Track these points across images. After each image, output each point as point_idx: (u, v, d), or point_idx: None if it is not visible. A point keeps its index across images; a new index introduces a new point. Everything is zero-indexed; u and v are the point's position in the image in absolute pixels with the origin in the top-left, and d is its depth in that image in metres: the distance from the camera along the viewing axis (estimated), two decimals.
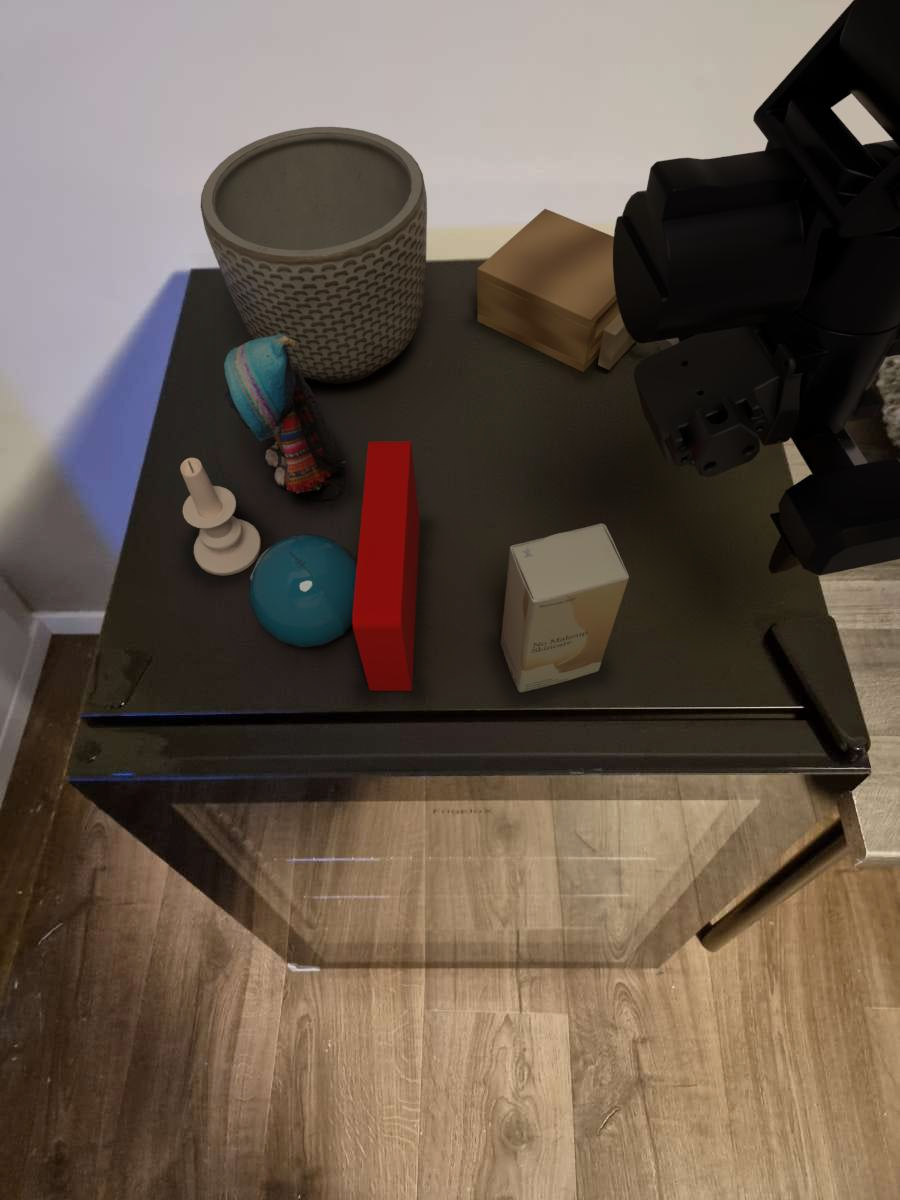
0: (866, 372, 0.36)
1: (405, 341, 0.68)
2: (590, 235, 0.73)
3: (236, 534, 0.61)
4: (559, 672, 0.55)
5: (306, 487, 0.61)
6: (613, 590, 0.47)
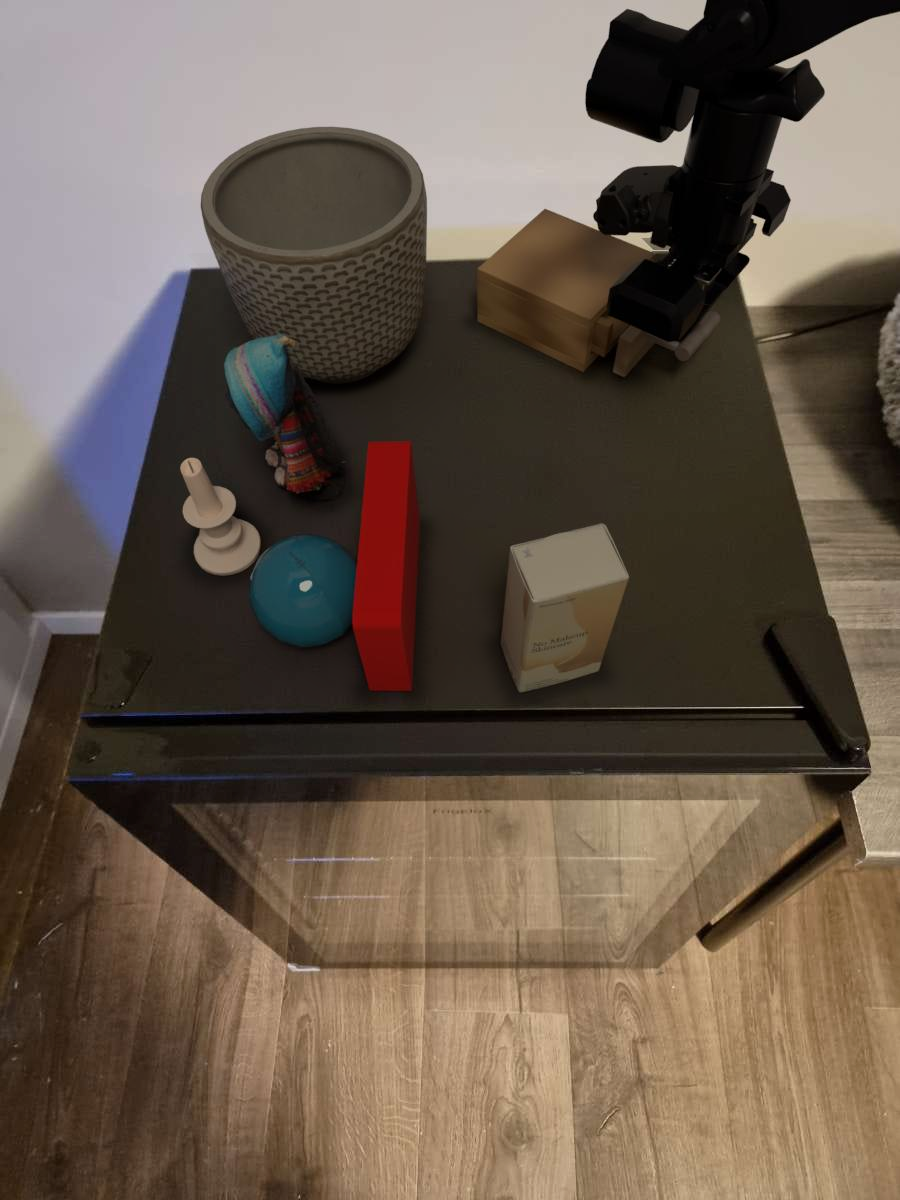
0: (706, 213, 0.57)
1: (405, 341, 0.68)
2: (590, 235, 0.73)
3: (236, 534, 0.61)
4: (559, 672, 0.55)
5: (306, 487, 0.61)
6: (613, 590, 0.47)
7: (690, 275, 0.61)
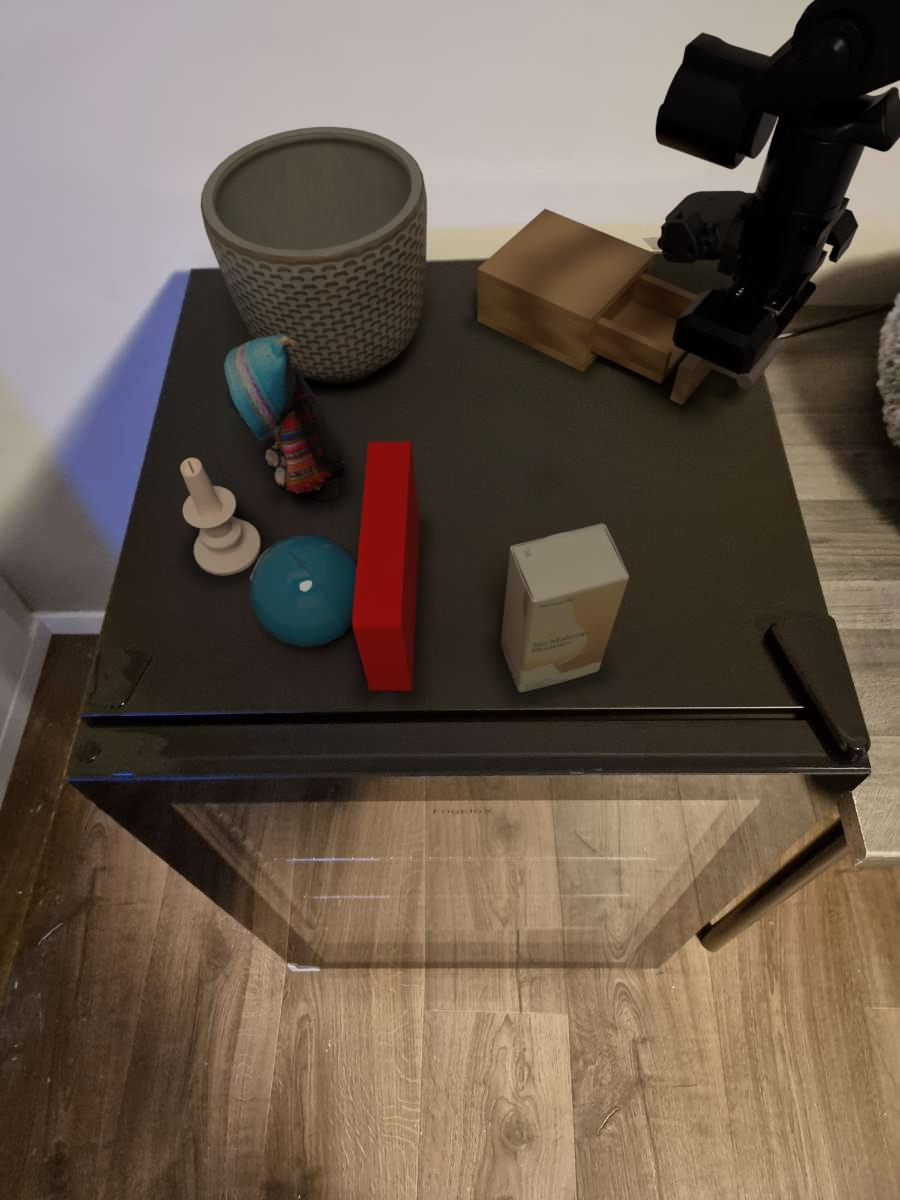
0: (780, 242, 0.55)
1: (405, 341, 0.68)
2: (590, 235, 0.73)
3: (236, 534, 0.61)
4: (559, 672, 0.55)
5: (306, 487, 0.61)
6: (613, 590, 0.47)
7: (758, 304, 0.60)
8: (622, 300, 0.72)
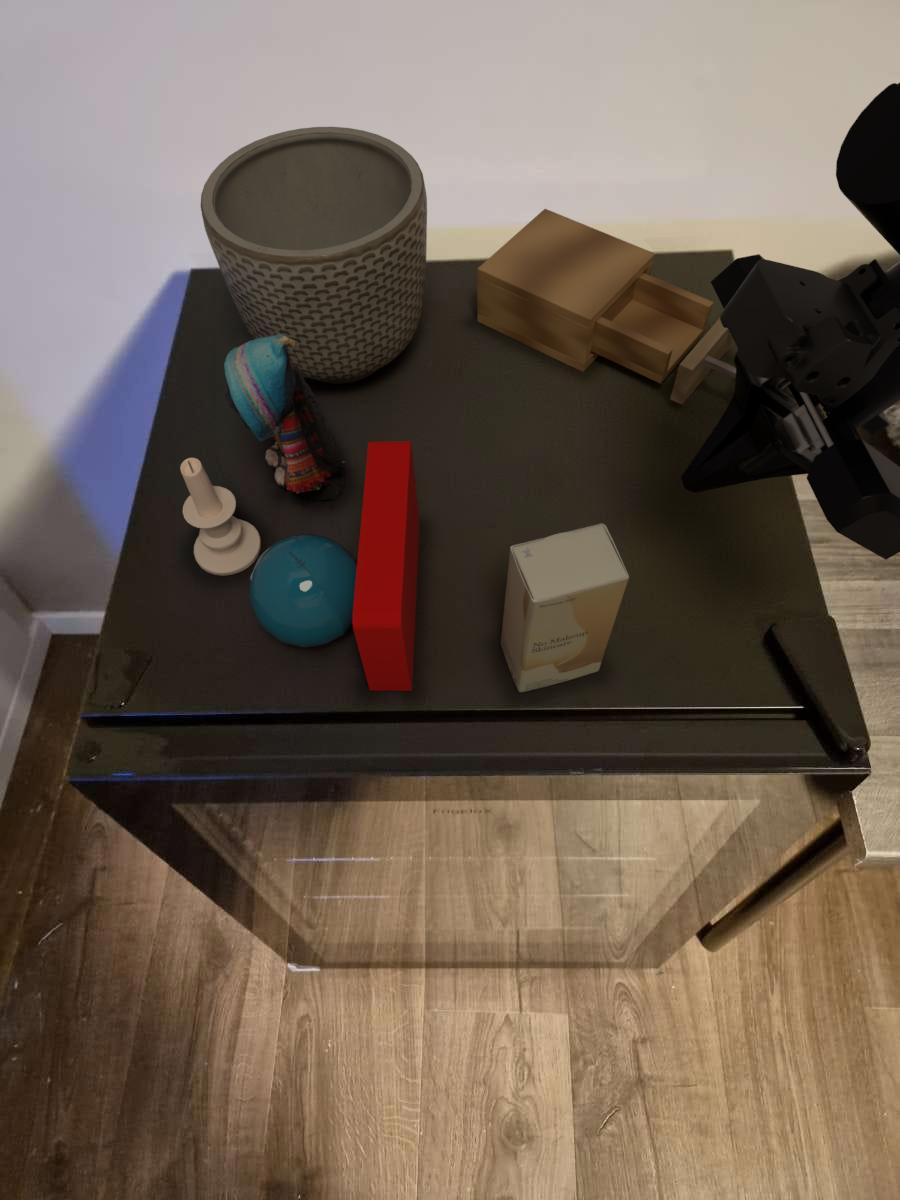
0: None
1: (405, 341, 0.68)
2: (590, 235, 0.73)
3: (236, 534, 0.61)
4: (559, 672, 0.55)
5: (306, 487, 0.61)
6: (613, 590, 0.47)
7: None
8: (622, 300, 0.72)
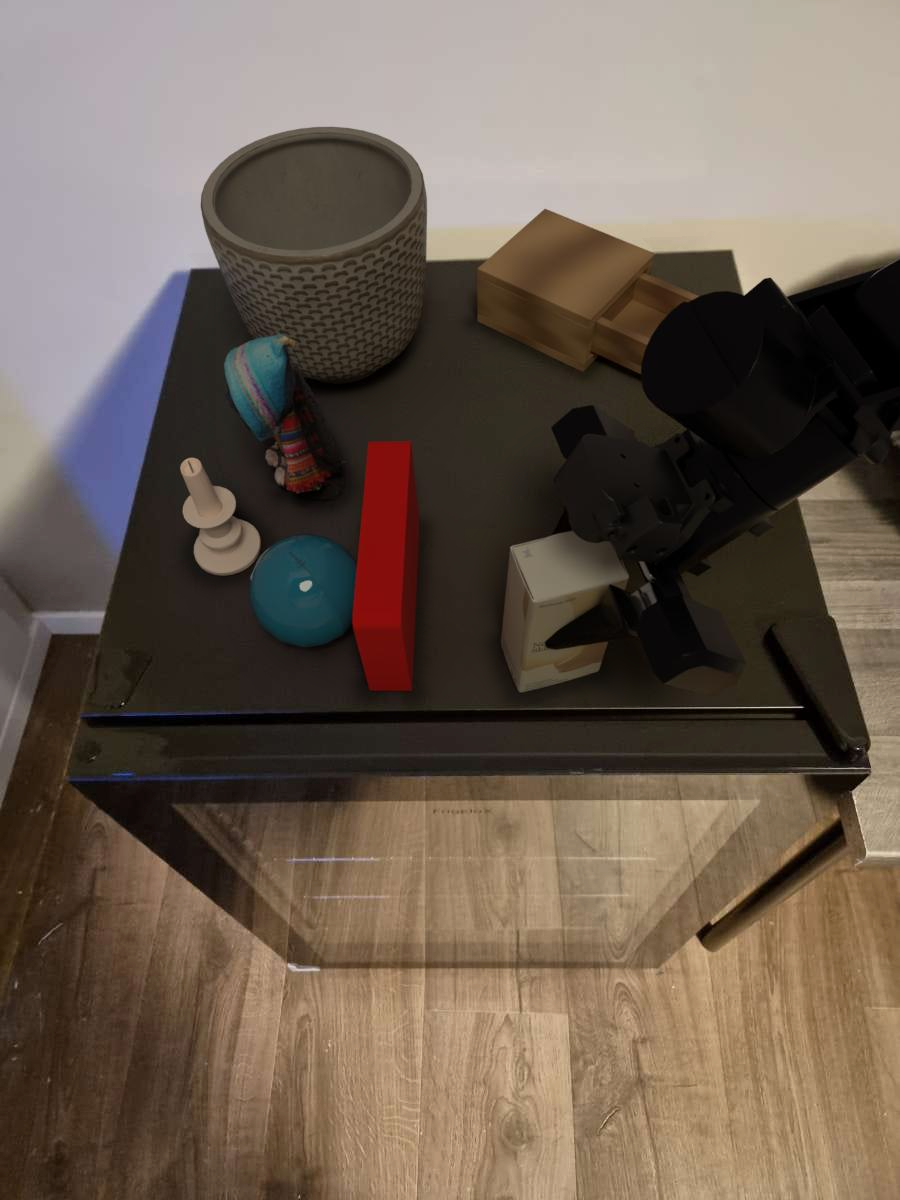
0: (737, 535, 0.44)
1: (405, 341, 0.68)
2: (590, 235, 0.73)
3: (236, 534, 0.61)
4: (559, 673, 0.55)
5: (306, 487, 0.61)
6: None
7: None
8: (622, 300, 0.72)
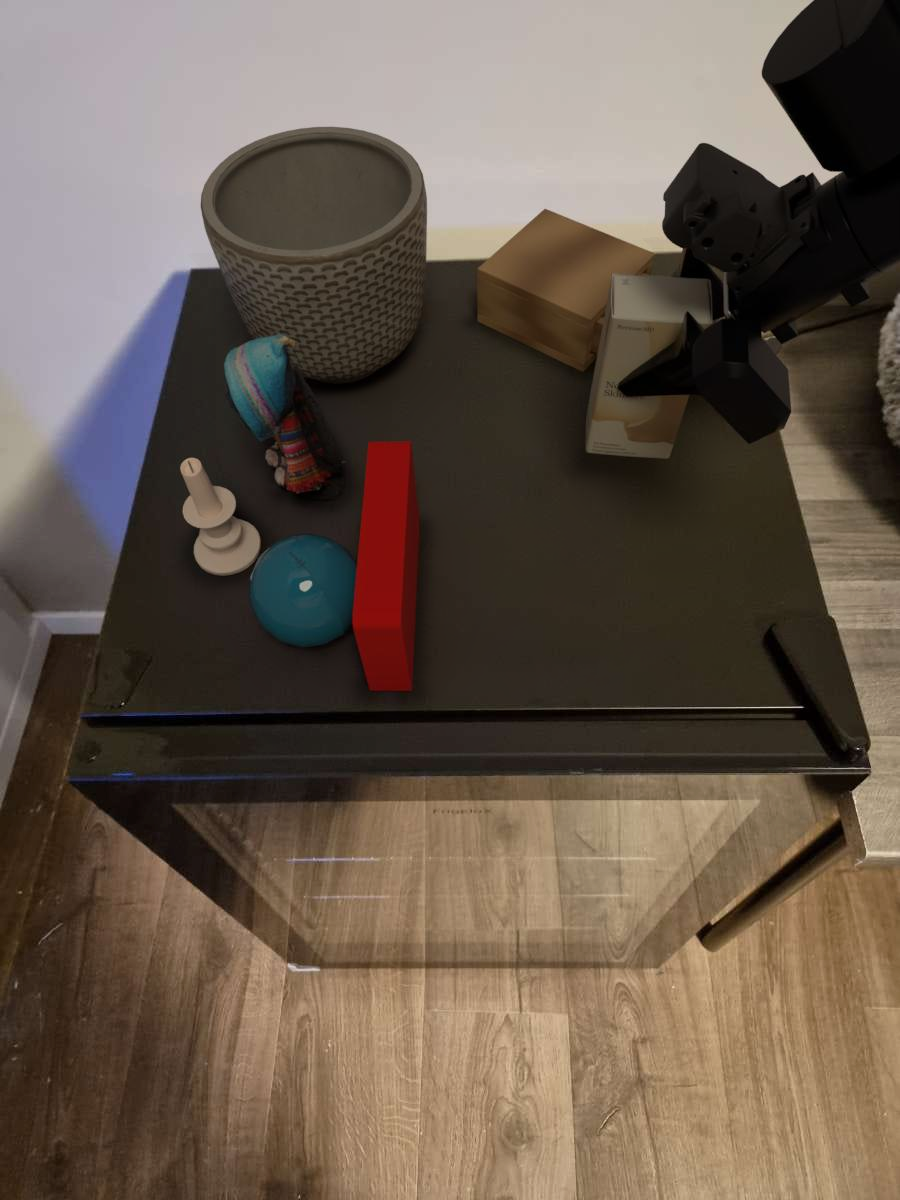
0: (826, 288, 0.44)
1: (405, 341, 0.68)
2: (590, 235, 0.73)
3: (236, 534, 0.61)
4: (627, 439, 0.57)
5: (306, 487, 0.61)
6: None
7: None
8: None
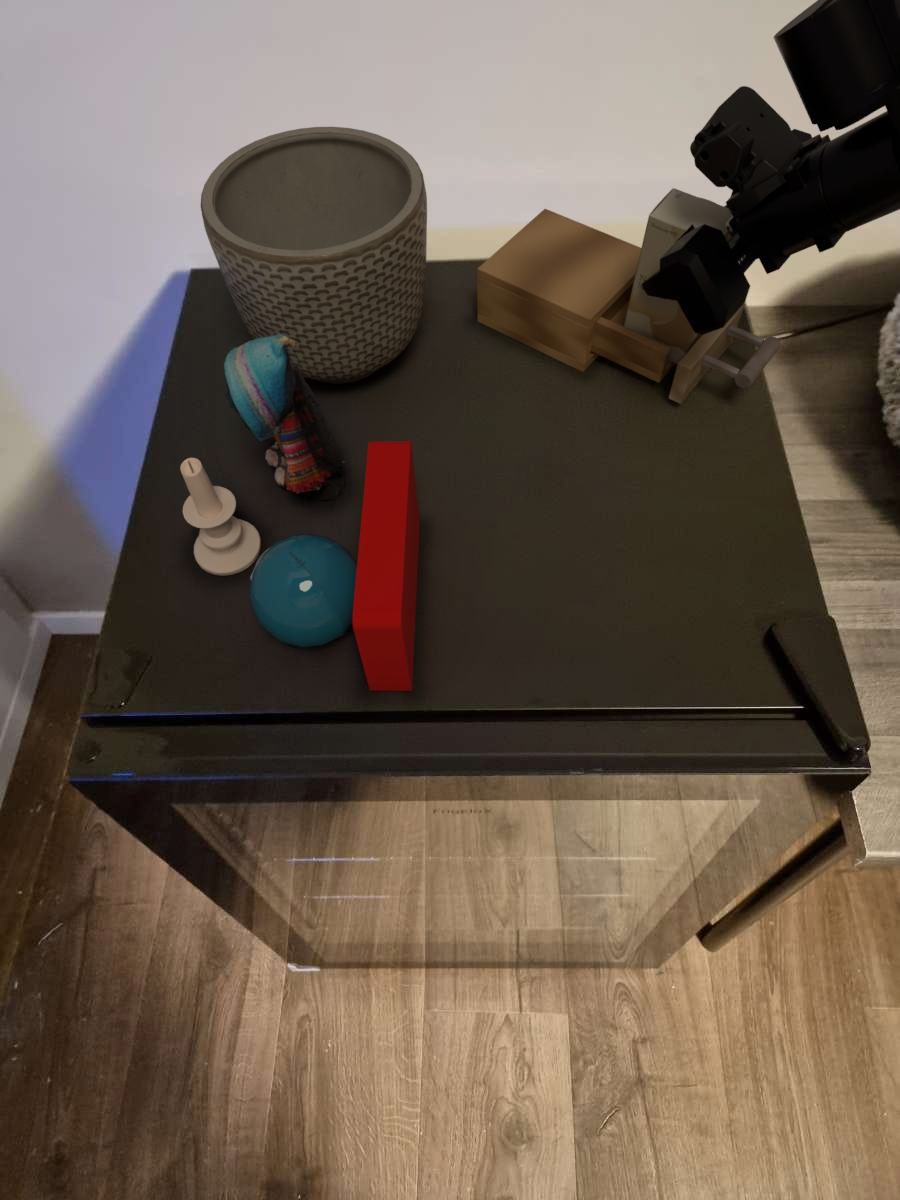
0: (798, 228, 0.54)
1: (405, 341, 0.68)
2: (590, 235, 0.73)
3: (236, 534, 0.61)
4: (651, 336, 0.69)
5: (306, 487, 0.61)
6: None
7: None
8: (620, 299, 0.72)
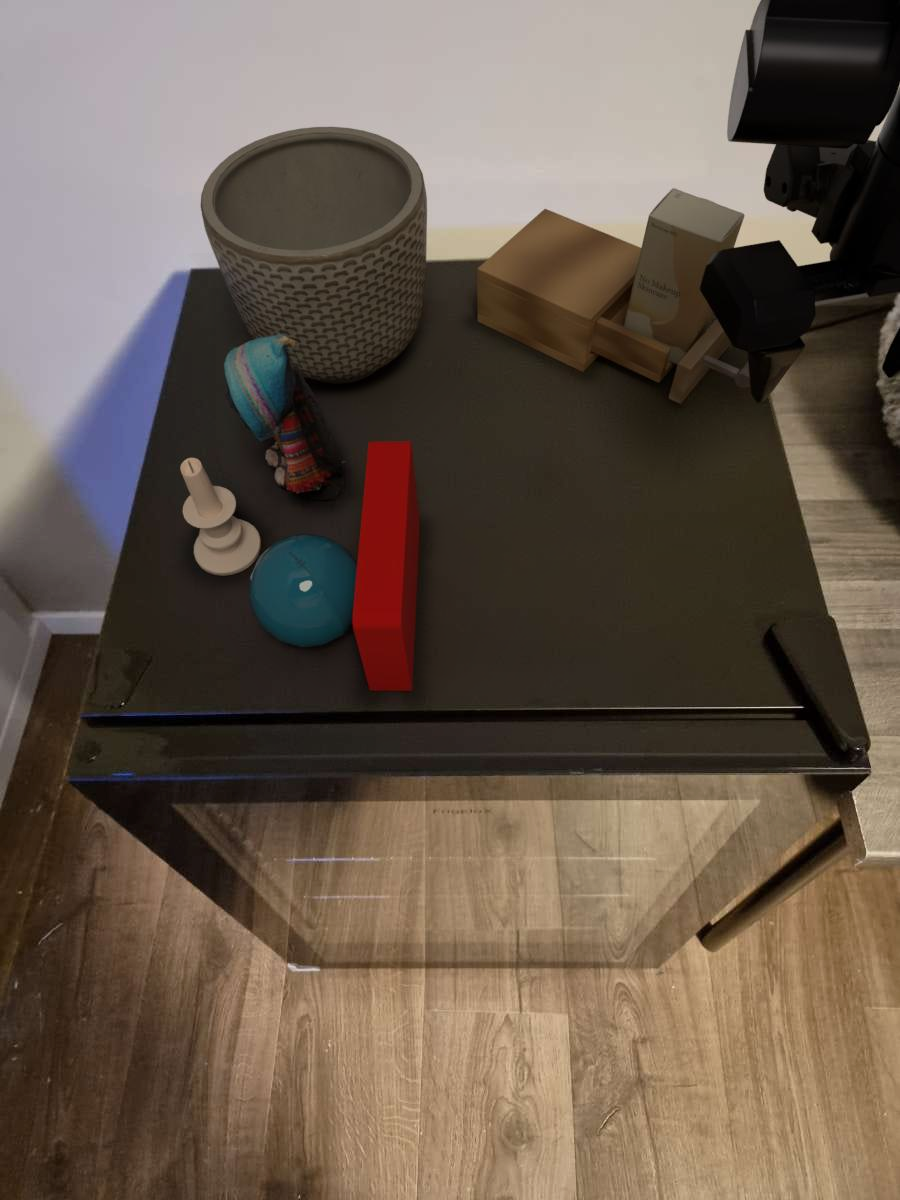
0: (872, 207, 0.41)
1: (405, 341, 0.68)
2: (590, 235, 0.73)
3: (236, 534, 0.61)
4: (651, 336, 0.69)
5: (306, 487, 0.61)
6: (706, 249, 0.60)
7: None
8: (620, 299, 0.72)
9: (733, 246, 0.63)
